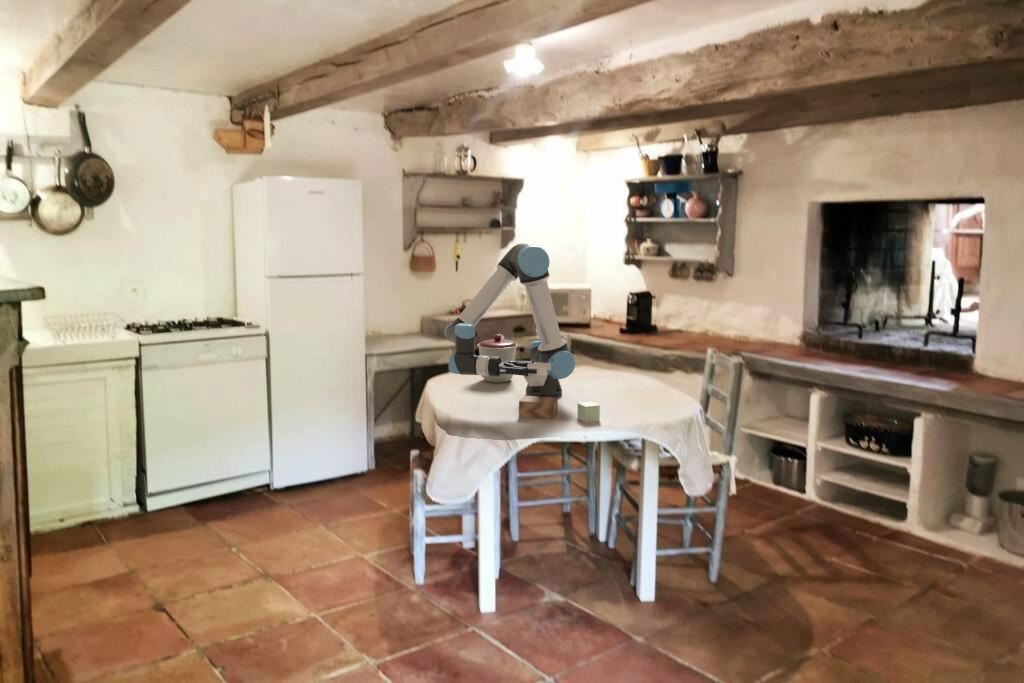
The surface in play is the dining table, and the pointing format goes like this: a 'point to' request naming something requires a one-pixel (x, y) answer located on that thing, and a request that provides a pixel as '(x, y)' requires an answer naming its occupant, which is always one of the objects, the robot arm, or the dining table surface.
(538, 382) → the die
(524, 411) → the plinth
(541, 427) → the dining table surface
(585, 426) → the dining table surface
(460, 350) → the robot arm
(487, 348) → the canister
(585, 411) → the green cube
